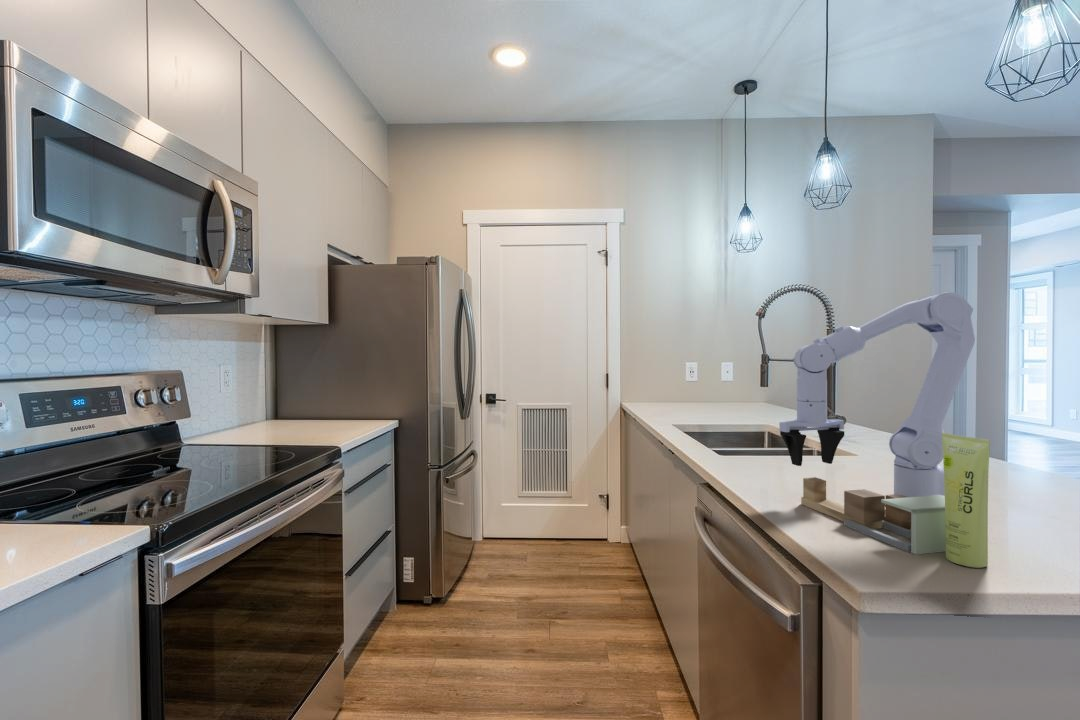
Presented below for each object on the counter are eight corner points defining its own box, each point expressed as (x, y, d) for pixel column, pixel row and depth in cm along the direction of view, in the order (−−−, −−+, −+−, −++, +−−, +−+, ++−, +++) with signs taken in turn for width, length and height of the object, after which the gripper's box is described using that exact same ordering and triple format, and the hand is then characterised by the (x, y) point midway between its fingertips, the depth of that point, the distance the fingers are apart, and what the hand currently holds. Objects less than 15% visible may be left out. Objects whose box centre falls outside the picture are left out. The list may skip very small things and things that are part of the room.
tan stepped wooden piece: (817, 502, 108) (817, 477, 108) (882, 528, 93) (882, 498, 93) (801, 503, 108) (801, 478, 108) (863, 529, 92) (864, 499, 92)
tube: (940, 562, 78) (940, 435, 78) (941, 552, 82) (941, 431, 81) (989, 572, 74) (990, 439, 74) (988, 561, 78) (988, 435, 78)
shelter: (939, 533, 90) (939, 494, 90) (977, 547, 83) (977, 505, 83) (881, 539, 87) (881, 499, 87) (915, 554, 81) (916, 510, 81)
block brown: (878, 514, 100) (878, 486, 100) (918, 529, 92) (918, 499, 92) (861, 516, 100) (861, 488, 99) (900, 530, 91) (900, 500, 91)
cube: (864, 512, 97) (864, 489, 97) (884, 520, 93) (884, 495, 92) (844, 514, 96) (844, 490, 96) (863, 522, 92) (864, 497, 92)
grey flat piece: (899, 519, 97) (900, 511, 97) (970, 545, 85) (970, 535, 84) (844, 525, 95) (844, 516, 95) (907, 551, 82) (908, 542, 82)
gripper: (826, 398, 114) (826, 458, 114) (769, 400, 111) (770, 461, 111) (851, 400, 107) (852, 464, 107) (792, 403, 104) (792, 469, 104)
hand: (812, 463), depth 109 cm, fingers open, 7 cm apart
